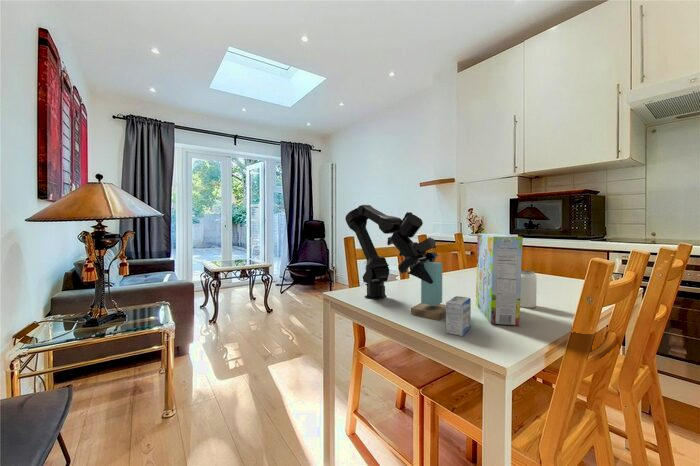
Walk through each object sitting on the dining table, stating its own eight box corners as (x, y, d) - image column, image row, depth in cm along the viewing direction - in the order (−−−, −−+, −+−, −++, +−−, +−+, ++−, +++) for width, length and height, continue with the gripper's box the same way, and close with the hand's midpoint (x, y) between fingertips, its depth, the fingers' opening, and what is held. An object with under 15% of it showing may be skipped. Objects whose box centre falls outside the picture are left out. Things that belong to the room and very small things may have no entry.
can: (540, 308, 101) (541, 273, 101) (521, 308, 102) (521, 273, 101) (529, 303, 108) (529, 270, 107) (511, 303, 108) (511, 270, 107)
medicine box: (462, 336, 78) (462, 304, 78) (445, 333, 81) (445, 301, 80) (470, 328, 84) (471, 297, 84) (455, 324, 87) (455, 295, 87)
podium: (410, 313, 97) (410, 307, 97) (424, 306, 105) (424, 301, 105) (440, 320, 91) (440, 313, 91) (452, 312, 98) (452, 306, 98)
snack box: (523, 327, 84) (524, 236, 83) (490, 325, 86) (491, 236, 85) (500, 305, 106) (501, 232, 104) (474, 304, 107) (475, 232, 106)
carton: (421, 303, 97) (421, 263, 97) (428, 299, 101) (428, 261, 101) (435, 305, 94) (435, 265, 94) (442, 302, 98) (442, 263, 97)
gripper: (406, 230, 92) (440, 270, 85) (432, 228, 106) (463, 262, 100) (385, 254, 97) (415, 293, 91) (413, 249, 112) (441, 282, 105)
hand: (435, 281), depth 96 cm, fingers closed on carton, 5 cm apart
